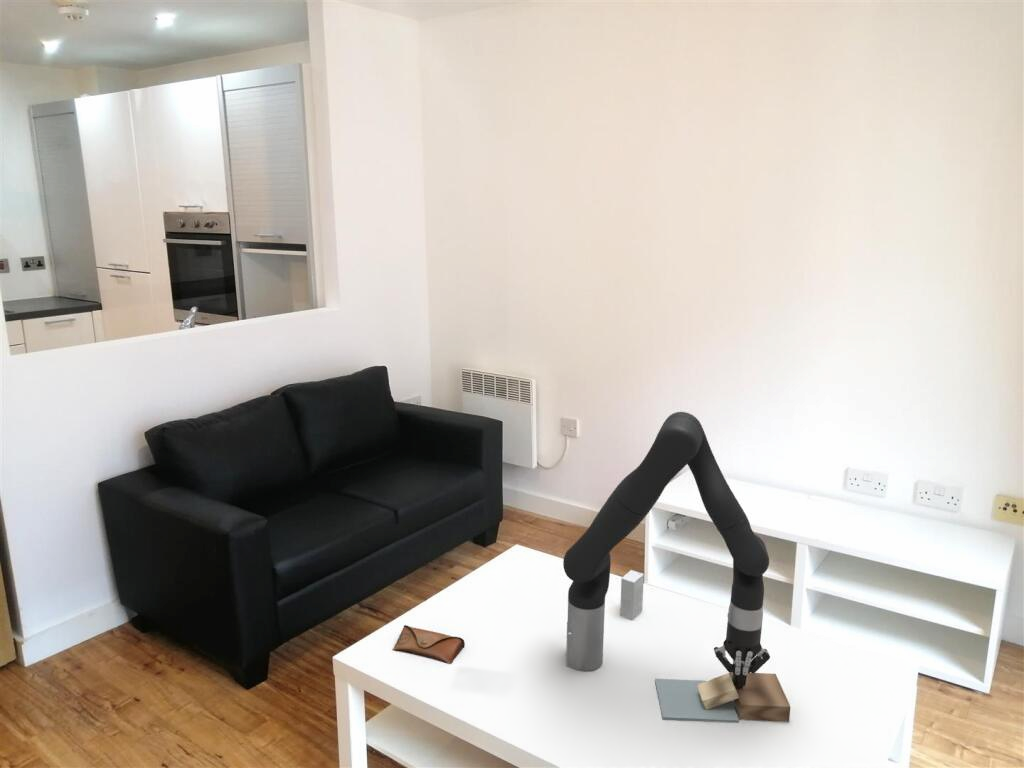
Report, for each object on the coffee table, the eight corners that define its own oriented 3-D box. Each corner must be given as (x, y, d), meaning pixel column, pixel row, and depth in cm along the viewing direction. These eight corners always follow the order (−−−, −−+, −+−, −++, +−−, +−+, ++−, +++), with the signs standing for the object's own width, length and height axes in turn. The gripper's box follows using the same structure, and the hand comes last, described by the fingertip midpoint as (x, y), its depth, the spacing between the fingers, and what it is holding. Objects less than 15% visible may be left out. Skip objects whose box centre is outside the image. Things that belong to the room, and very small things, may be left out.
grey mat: (662, 719, 170) (662, 717, 170) (654, 680, 184) (655, 678, 184) (738, 722, 169) (738, 720, 169) (725, 683, 183) (725, 681, 183)
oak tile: (706, 709, 173) (702, 701, 172) (701, 693, 179) (697, 684, 178) (739, 697, 172) (735, 689, 171) (732, 681, 177) (728, 672, 177)
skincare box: (629, 606, 217) (631, 569, 214) (642, 611, 214) (644, 573, 211) (619, 616, 212) (620, 577, 209) (632, 621, 210) (634, 582, 207)
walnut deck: (739, 719, 170) (741, 704, 169) (728, 686, 182) (729, 671, 181) (788, 722, 170) (790, 706, 169) (774, 688, 181) (775, 673, 180)
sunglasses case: (389, 650, 195) (394, 624, 197) (400, 649, 202) (405, 624, 203) (452, 664, 190) (457, 637, 191) (461, 663, 196) (466, 637, 198)
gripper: (719, 628, 168) (713, 695, 172) (779, 630, 167) (771, 697, 171) (712, 610, 175) (706, 675, 179) (769, 612, 174) (762, 677, 179)
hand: (738, 686), depth 175 cm, fingers closed
